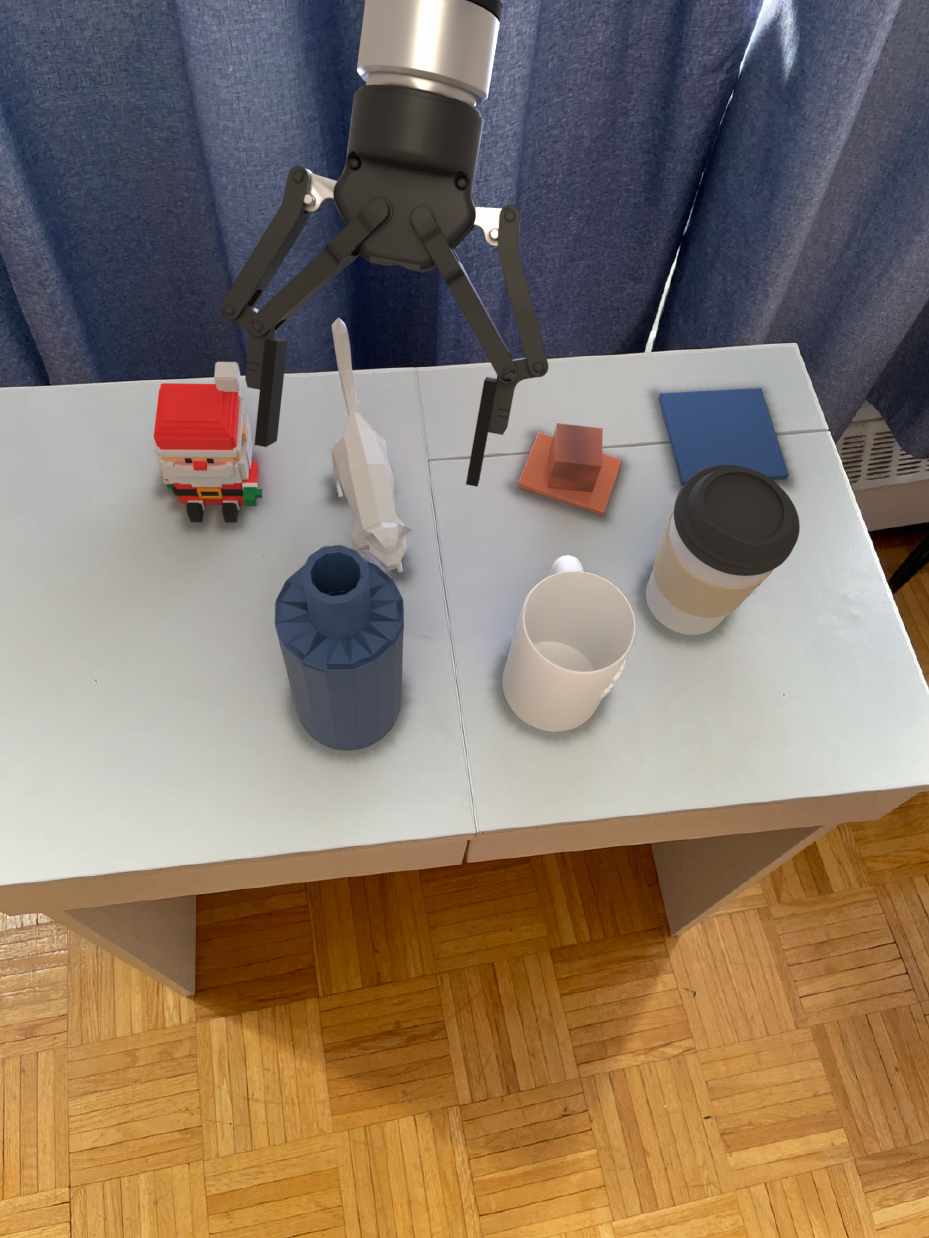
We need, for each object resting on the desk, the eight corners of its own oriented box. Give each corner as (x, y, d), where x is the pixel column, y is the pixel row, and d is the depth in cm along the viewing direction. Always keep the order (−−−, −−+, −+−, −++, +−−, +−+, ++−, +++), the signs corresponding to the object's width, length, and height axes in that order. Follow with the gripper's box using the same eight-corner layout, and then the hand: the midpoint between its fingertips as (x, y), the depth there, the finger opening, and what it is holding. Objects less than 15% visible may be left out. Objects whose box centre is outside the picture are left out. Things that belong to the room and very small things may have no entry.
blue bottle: (415, 674, 74) (424, 540, 55) (377, 765, 71) (374, 656, 52) (322, 640, 75) (300, 497, 56) (280, 729, 72) (241, 608, 53)
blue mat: (759, 391, 89) (761, 387, 89) (787, 479, 85) (789, 475, 85) (658, 397, 88) (660, 393, 88) (681, 485, 84) (683, 482, 84)
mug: (601, 600, 78) (635, 525, 68) (605, 736, 73) (643, 678, 62) (503, 593, 78) (522, 517, 67) (500, 729, 73) (520, 670, 62)
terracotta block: (593, 455, 84) (602, 427, 80) (592, 492, 82) (602, 466, 79) (549, 450, 84) (556, 422, 80) (547, 487, 82) (554, 461, 79)
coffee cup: (661, 534, 82) (715, 429, 68) (755, 584, 80) (829, 487, 67) (615, 612, 78) (662, 517, 65) (712, 666, 76) (781, 581, 63)
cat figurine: (365, 626, 76) (360, 538, 63) (319, 428, 84) (307, 315, 71) (419, 615, 77) (425, 526, 64) (368, 421, 85) (365, 307, 72)
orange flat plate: (621, 463, 85) (622, 459, 84) (603, 516, 82) (604, 512, 82) (537, 435, 85) (538, 431, 85) (517, 486, 83) (517, 483, 82)
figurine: (162, 522, 78) (127, 436, 68) (170, 453, 82) (137, 359, 71) (265, 523, 79) (247, 437, 68) (269, 454, 82) (252, 361, 71)
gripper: (629, 147, 57) (557, 487, 64) (226, 72, 57) (199, 420, 64) (643, 124, 50) (561, 510, 57) (183, 40, 50) (157, 434, 57)
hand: (369, 463), depth 60 cm, fingers open, 13 cm apart
